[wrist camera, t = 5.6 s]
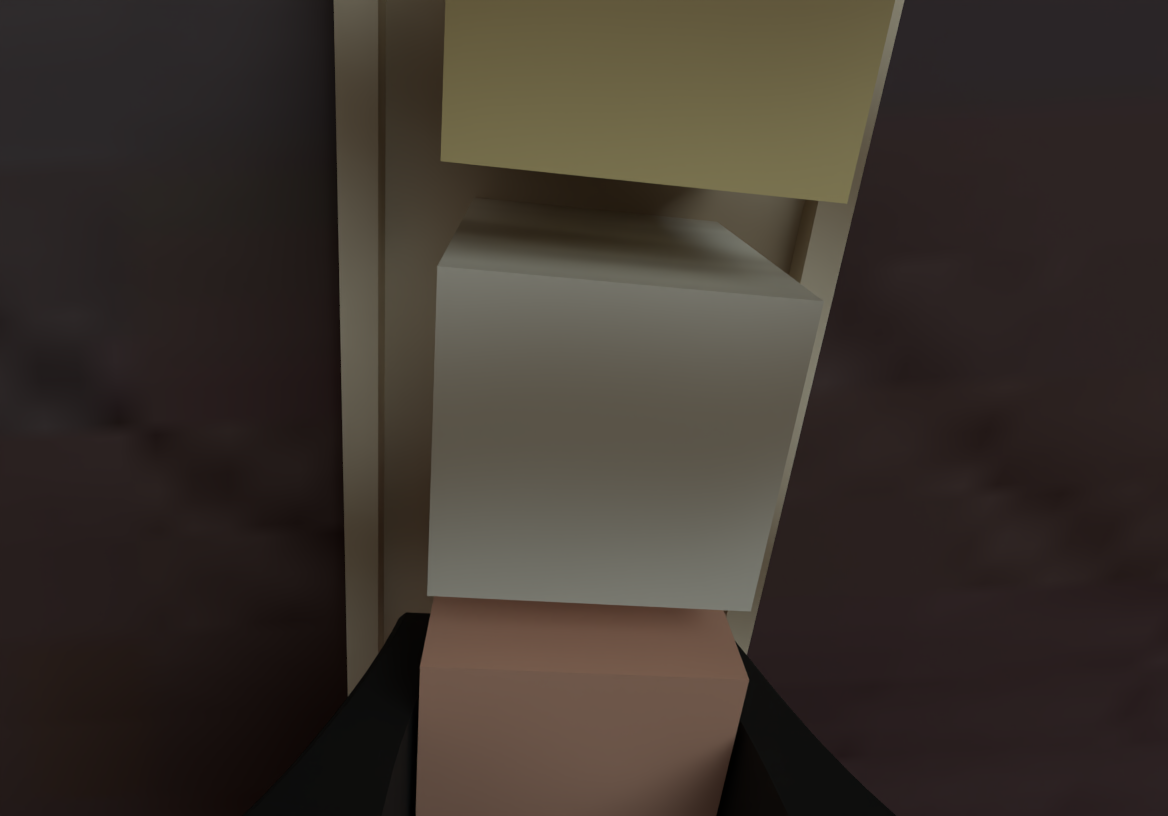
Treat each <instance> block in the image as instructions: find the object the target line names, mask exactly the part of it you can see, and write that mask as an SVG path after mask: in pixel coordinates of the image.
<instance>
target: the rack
mask: <svg viewBox="0 0 1168 816" xmlns="http://www.w3.org/2000/svg"><path fill="white" fill-rule="evenodd" d="M903 4H904V0H334V41H335V90H336V139H337V188H338V237H339V287H340V336H341V385H342V434H343V483H344V532H345V581H346V631H347V680H348V696H349V695H350V693H351V692H352V691H353V689H354V688H355V686H356V685H357V684H358V682H359V681H360V680H361V678H362V677H363V675H364V674H365V673H366V671H367V670H368V668H369V667H370V665H371V664H372V662H373V661H374V659H375V658H376V656H377V655H378V653H379V652H380V650H381V648H382V647H383V645H384V644H385V642H386V640H387V639H388V637H389V635H390V633H391V632H392V630H393V628H394V626H395V624H396V622H397V620H398V618H399V617H401V616H402V615H403V614H405V613H406V612H411V613H431V609H432V604H433V599H434V596H441V597H462V598H482V599H503V600H523V601H544V602H565V603H585V604H606V605H626V606H647V607H667V608H688V609H709V610H724V613H725V615H726V618H727V621H728V623H729V626H730V629H731V632H732V634H733V637H734V640H735V641H736V642H737V644H738V645H739V646H740V647H741V649H742V650H743V651H744V652H745V654H746V655H747V652H748V648H749V644H750V639H751V635H752V631H753V627H754V623H755V619H756V615H757V610H758V606H759V602H760V598H761V594H762V590H763V585H764V581H765V577H766V573H767V569H768V565H769V560H770V556H771V552H772V548H773V544H774V540H775V536H776V531H777V527H778V523H779V519H780V515H781V511H782V506H783V502H784V498H785V494H786V490H787V486H788V482H789V477H790V473H791V469H792V465H793V461H794V457H795V452H796V448H797V444H798V440H799V436H800V432H801V428H802V423H803V419H804V415H805V411H806V407H807V403H808V398H809V394H810V390H811V386H812V382H813V378H814V374H815V369H816V365H817V361H818V357H819V353H820V349H821V344H822V340H823V336H824V332H825V328H826V324H827V320H828V315H829V311H830V307H831V303H832V299H833V295H834V290H835V286H836V282H837V278H838V274H839V270H840V265H841V261H842V257H843V253H844V249H845V245H846V241H847V236H848V232H849V228H850V224H851V220H852V216H853V211H854V207H855V203H856V199H857V195H858V191H859V187H860V182H861V178H862V174H863V170H864V166H865V162H866V157H867V153H868V149H869V145H870V141H871V137H872V133H873V128H874V124H875V120H876V116H877V112H878V108H879V103H880V99H881V95H882V91H883V87H884V83H885V79H886V74H887V70H888V66H889V62H890V58H891V54H892V49H893V45H894V41H895V37H896V33H897V29H898V25H899V20H900V16H901V12H902V8H903Z"/></svg>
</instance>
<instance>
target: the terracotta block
mask: <svg viewBox="0 0 1168 816" xmlns="http://www.w3.org/2000/svg"><path fill="white" fill-rule="evenodd" d="M748 683H749V678H748V675H747V672H746V670H745V667H744V664H743V661H742V659H741V656H740V653H739V651H738V648H737V645H736V642H735V640H734V637H733V634H732V632H731V629H730V626H729V623H728V621H727V618H726V615H725V613H724V610H709V609H688V608H667V607H647V606H626V605H606V604H585V603H565V602H544V601H523V600H503V599H482V598H462V597H441V596H434V599H433V604H432V609H431V614H430V619H429V624H428V629H427V634H426V639H425V644H424V649H423V654H422V659H421V664H420V686H419V719H418V753H417V787H416V816H716V815H717V811H718V807H719V803H720V798H721V794H722V790H723V786H724V782H725V778H726V774H727V770H728V765H729V761H730V757H731V753H732V749H733V745H734V741H735V737H736V732H737V728H738V724H739V720H740V716H741V712H742V708H743V703H744V699H745V695H746V691H747V687H748Z"/></svg>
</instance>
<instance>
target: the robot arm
mask: <svg viewBox="0 0 1168 816" xmlns="http://www.w3.org/2000/svg"><path fill="white" fill-rule="evenodd" d="M430 614H431V613H411V612H406V613H405V614H403V615H402V616H401V617H399V618H398V620H397V622H396V624H395V626H394V628H393V630H392V632H391V633H390V635H389V637H388V639H387V640H386V642H385V644H384V645H383V647H382V648H381V650H380V652H379V653H378V655H377V656H376V658H375V659H374V661H373V662H372V664H371V665H370V667H369V668H368V670H367V671H366V673H365V674H364V675H363V677H362V678H361V680H360V681H359V682H358V684H357V685H356V686H355V688H354V689H353V691H352V692H351V693H350V695H349V696H348V697H347V699H346V700H345V702H344V703H343V704H342V706H341V707H340V708H339V709H338V711H337V712H336V713H335V715H334V716H333V717H332V718H331V719H330V721H329V722H328V723H327V724H326V725H325V727H324V728H323V729H322V730H321V732H320V733H319V734H318V735H317V736H316V738H315V739H314V740H313V741H312V742H311V744H310V745H309V746H308V747H307V749H306V750H305V751H304V752H303V753H302V754H301V755H300V757H299V758H298V759H297V760H296V761H295V762H294V763H293V764H292V765H291V767H290V768H289V769H288V770H287V771H286V772H285V773H284V774H283V775H282V776H281V777H280V779H279V780H278V781H277V782H276V783H275V784H274V785H273V786H272V787H271V788H270V789H269V790H268V791H267V792H266V793H265V794H264V795H263V796H262V797H261V798H260V799H259V800H258V801H257V802H256V803H255V804H254V805H253V806H252V807H251V808H250V809H249V810H248V811H247V812H246V813H245V814H244V815H243V816H416V787H417V753H418V719H419V686H420V664H421V659H422V654H423V649H424V644H425V639H426V634H427V629H428V624H429V619H430ZM735 642H736V641H735ZM736 645H737V648H738V651H739V653H740V656H741V659H742V661H743V664H744V667H745V670H746V672H747V675H748V678H749V683H748V687H747V691H746V695H745V699H744V703H743V708H742V712H741V716H740V720H739V724H738V728H737V732H736V737H735V741H734V745H733V749H732V753H731V757H730V761H729V765H728V770H727V774H726V778H725V782H724V786H723V790H722V794H721V798H720V803H719V807H718V811H717V815H716V816H896V815H895V814H894V813H893V812H891V811H890V810H889V809H888V808H887V807H886V806H885V805H884V804H883V803H881V802H880V801H879V800H878V799H877V798H876V797H875V796H874V795H873V794H872V793H870V792H869V791H868V790H867V789H866V788H865V787H864V786H863V785H862V784H861V783H860V782H859V781H858V780H857V779H856V778H855V777H854V776H853V775H852V774H851V773H850V772H849V771H848V770H847V769H846V768H845V767H844V766H843V765H842V764H841V763H840V762H839V761H838V760H837V759H836V758H835V757H834V756H833V755H832V754H831V753H830V752H829V751H828V750H827V749H826V748H825V747H824V746H823V745H822V743H821V742H820V741H819V740H818V739H817V738H816V737H815V736H814V735H813V734H812V733H811V732H810V730H809V729H808V728H807V727H806V726H805V725H804V724H803V722H802V721H801V720H800V719H799V718H798V717H797V715H796V714H795V713H794V712H793V711H792V710H791V709H790V707H789V706H788V705H787V704H786V703H785V702H784V700H783V699H782V698H781V697H780V696H779V694H778V693H777V692H776V691H775V690H774V688H773V687H772V686H771V685H770V684H769V682H768V681H767V680H766V679H765V677H764V676H763V675H762V674H761V672H760V671H759V670H758V669H757V667H756V666H755V665H754V664H753V662H752V661H751V660H750V659H749V657H748V656H747V655H746V654H745V652H744V651H743V650H742V649H741V647H740V646H739V645H738V644H737V642H736Z"/></svg>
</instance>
